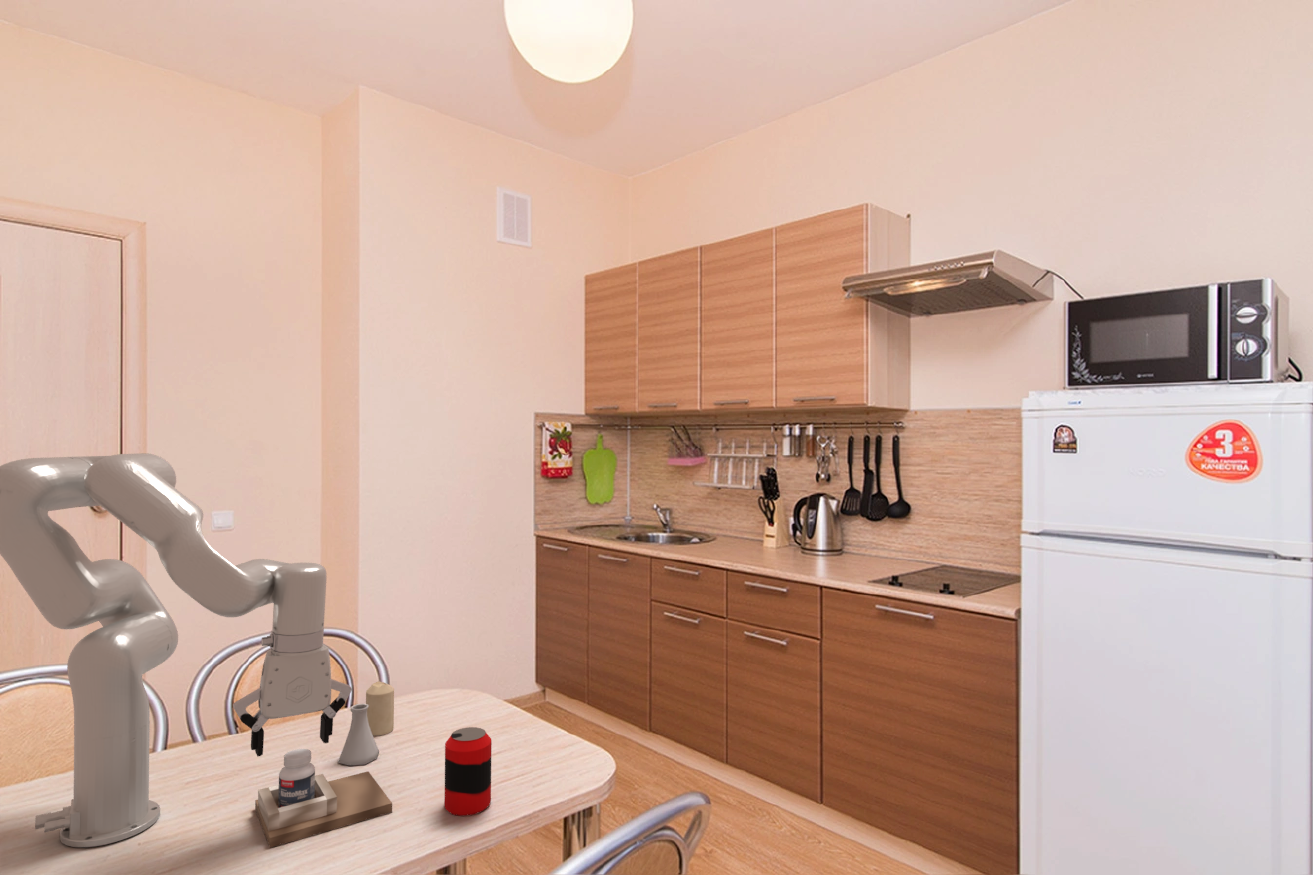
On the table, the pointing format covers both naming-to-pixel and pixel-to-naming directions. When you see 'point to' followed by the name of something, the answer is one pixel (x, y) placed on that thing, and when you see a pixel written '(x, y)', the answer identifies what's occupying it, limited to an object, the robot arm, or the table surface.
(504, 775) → the table surface
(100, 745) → the robot arm
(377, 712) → the candle
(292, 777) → the pill bottle
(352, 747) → the flask
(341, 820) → the socket board
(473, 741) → the soda can
